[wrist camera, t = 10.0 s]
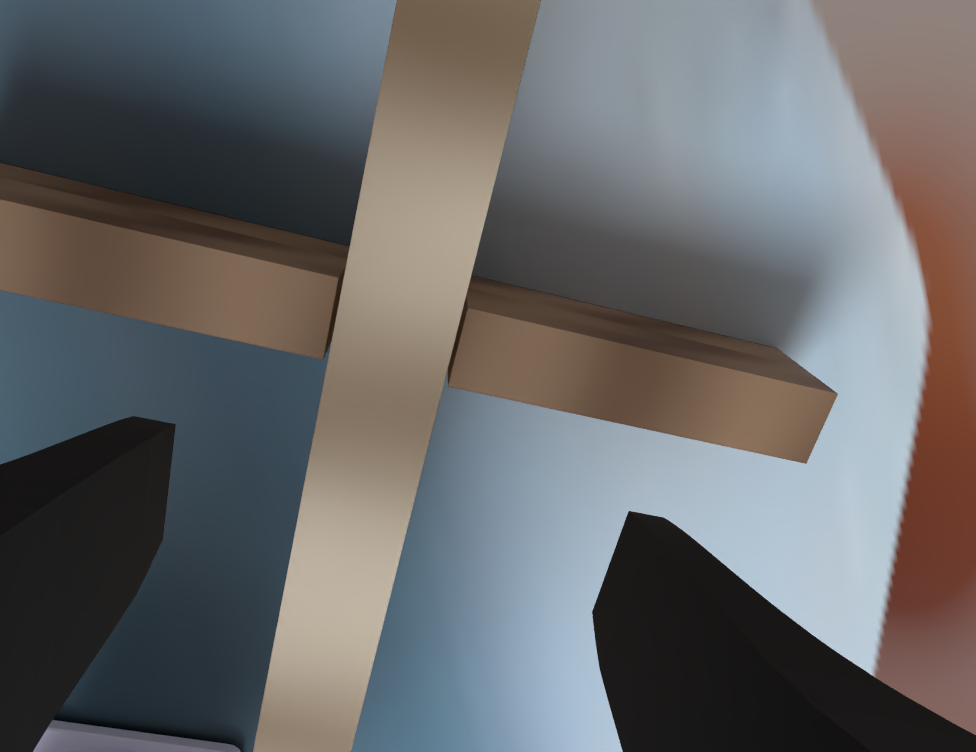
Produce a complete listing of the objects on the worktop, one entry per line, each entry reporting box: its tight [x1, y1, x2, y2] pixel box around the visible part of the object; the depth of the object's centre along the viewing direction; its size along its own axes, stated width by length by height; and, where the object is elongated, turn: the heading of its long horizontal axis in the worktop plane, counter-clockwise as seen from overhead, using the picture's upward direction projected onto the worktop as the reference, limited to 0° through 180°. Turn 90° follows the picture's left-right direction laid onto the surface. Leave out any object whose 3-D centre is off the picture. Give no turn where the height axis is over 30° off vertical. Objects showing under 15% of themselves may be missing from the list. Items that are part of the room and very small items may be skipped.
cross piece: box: [253, 0, 541, 752], centre depth 16 cm, size 18×2×8 cm, turn 166°
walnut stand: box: [0, 163, 838, 463], centre depth 18 cm, size 22×2×4 cm, turn 76°
